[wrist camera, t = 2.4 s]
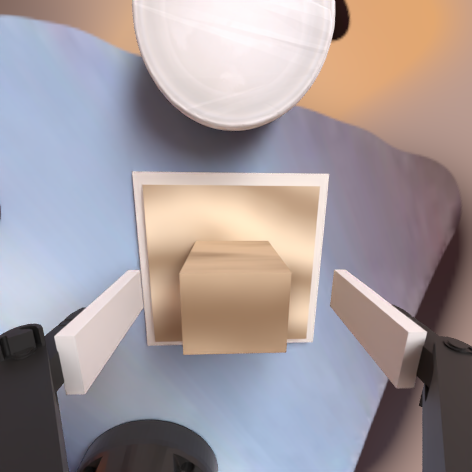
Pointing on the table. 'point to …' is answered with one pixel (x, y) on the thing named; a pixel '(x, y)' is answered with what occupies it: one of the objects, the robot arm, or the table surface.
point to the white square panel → (226, 179)
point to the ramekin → (234, 55)
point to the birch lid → (230, 265)
